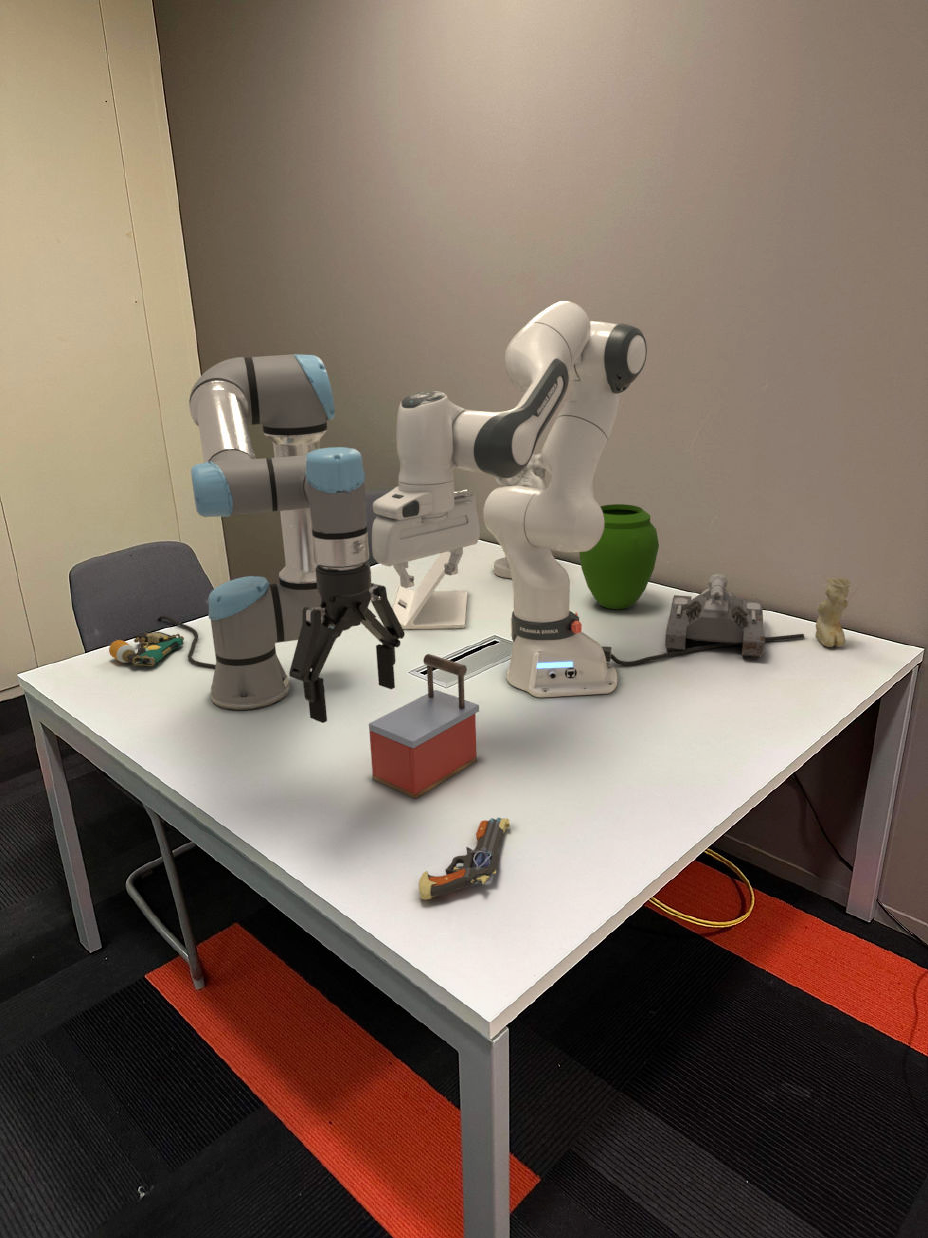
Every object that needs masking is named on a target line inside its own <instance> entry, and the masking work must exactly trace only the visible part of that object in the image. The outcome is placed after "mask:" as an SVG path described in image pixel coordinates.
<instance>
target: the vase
mask: <svg viewBox="0 0 928 1238" xmlns="http://www.w3.org/2000/svg"><path fill="white" fill-rule="evenodd" d="M599 506H600V505H599ZM600 507H601V509H602V512H603V515H604V522H605V524H604V531H603V534H602V536H601V538H600V540H599V542H598V543H597V544H596V545H595V546H594V547H593V548H592V549H591V550H589V551H584V552H578V554H579V562H580V569H581V571H582V574H583V577H584V580H585V583H586V585H587V588H588V590H589V591H590V594H592V597H593V598H594V600H595V601H596V602H597V603H598V604H599V605H600V606H602V607H604V608H606V609H609V610H625V609H628V608H630V607H632V606H634V604H636V602H638V601H639V599H640V597H641V596H642V595H643V593H644V592H645V590H646V588H647V586H648V584H649V581H650V579H651V577H652V574H653V572H654V570H655V566H656V562H657V557H658V552H659V548H660V544H659V543H660V542H659V537H658V531H657V528H656V527H655V526H654V524H653V523H652V522H651V515H650V514H649V512H647V511H645V510H644V509H643V508H642V507H641V506H638V505H633V504H622V503H621V504H619V503H616V504H615V503H614V504H604V505H601V506H600Z"/></svg>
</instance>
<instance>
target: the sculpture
mask: <svg viewBox="0 0 928 1238" xmlns="http://www.w3.org/2000/svg"><path fill="white" fill-rule="evenodd" d="M826 581H827V586H826V588H825V590H824V593H825V595H826V596H827V598H826V600H824V601H822V602H821V603H820V604H819V605H818V606H817V609H816V610H817V612H818V614H819V616H818V617H817V619H816V623H815V630H816V631H815V634H814V635H815V639H817V640H819V642H820V643H821V644H822V645H823V646H825V647H827V648H832V647H834V646H835V647H843V646H844V645H845V643H846V642H845V641H846V636H845V632H844V630H843V626H842V624H841V622H840V621H841V617H842V615H843V612H844V610H845V609H846V608H847V606H848V604H849V603H848V602H849V601H847V598H848V597H849V592H850V586H851V585H852V582H850V580H848V579H847V578H845V577H841V576H840V577H835V578H831V577H827V578H826Z"/></svg>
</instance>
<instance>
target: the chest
mask: <svg viewBox="0 0 928 1238" xmlns="http://www.w3.org/2000/svg"><path fill="white" fill-rule="evenodd" d="M369 743H370V744H369V746H370V758H371V772H372V780H374V781H376V782H378V783H380V784H383V785H385V786H387V787H389V788H391V789H393V790H395V791H397V792H400V793H402V794H405V795H407V796H409V797H411V798H413V799H415V800H417V799H418V798H420V797H421V796H423V795H425V794H426V793H428V792H429V791H431V790H433V789H434V788H437V786H439V785H440V784H442V783H444V782H445V781H447V780H448V779H450V778H452V777H454V776H455V775H456V774H458V773H460V772H461V771H463V770H465V769H466V768H467V767H470V766H471V765H473V764H474V763H476V762H477V761H478V756H477V721H476V713H475V714H473V715H472V716H470V717H468V718H466V719H465V720H463V721H461V722H459V723H458V724H456V725H454V726H452V727H450V728H449V729H447V730H445V731H443V732H442V733H440V734H438V735H436V736H435V737H433V738H431V739H429V740H427V741H426V742H424V743H422V744H420V745H419V746H417V747H415V748H411V747H408V746H406V745H403V744H401V743H399V742H396V741H394V740H391V739H389V738H387V737H384V736H382V735H380V734H377V733H375V732H372V731H370V730H369Z"/></svg>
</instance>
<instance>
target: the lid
mask: <svg viewBox="0 0 928 1238" xmlns="http://www.w3.org/2000/svg"><path fill="white" fill-rule="evenodd" d="M423 664H424V665H425V666H426V677H427V693H425V694H424V695H422V696H420V697H418V698H416V699H414V700H412V701H411V702H408V703H406V704H405V705H402V706H401V707H398V708H397V709H395V710H393V711H391V712H388V713H386V714H384V715H383V716H381V717H379V718H376V719H375V720H373V721H371V722H369V723H368V730H369V731H372V732H375V733H377V734H380V735H382V736H384V737H387V738H389V739H391V740H394V741H396V742H399V743H401V744H403V745H406V746H408V747H411V748H415V747H417V746H419V745H420V744H422V743H424V742H426V741H427V740H429V739H431V738H433V737H435V736H436V735H438V734H440V733H442V732H443V731H445V730H447V729H449V728H450V727H452V726H454V725H456V724H458V723H459V722H461V721H463V720H465V719H466V718H468V717H470V716H472V715H473V714H475V715H476V714H477V713H479V712H480V704H477V703H475V702H472V701H470V700H466V699H465V675H466V673H467V671H468V670H467V666H466V665H465V664H462V663H459V662H456V661H453V660H449V659H446V658H443V657H440V656H437V655H434V654H430V653H427V654H425V655H424V657H423ZM433 668H434V669H437V670H439V671H443V672H446V673H449V674H453V675H455V676H457V684H458V685H457V686H458V687H457V688H458V689H457V690H458V691H457V692H458V696H455V695H452V694H449V693H447V692H443V691H441V690H438V689H434V674H433V673H434V670H433Z"/></svg>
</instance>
